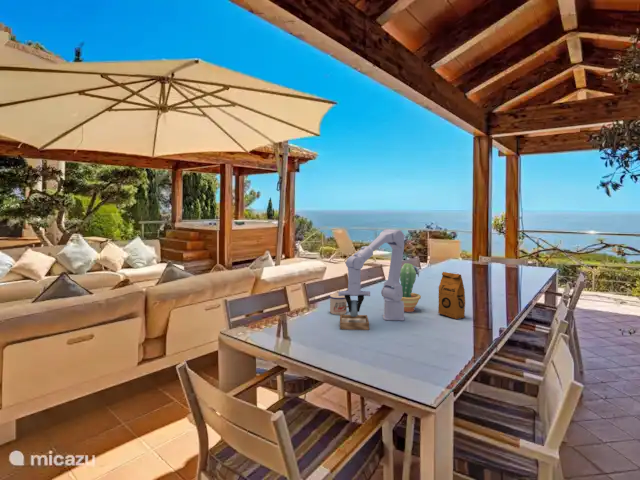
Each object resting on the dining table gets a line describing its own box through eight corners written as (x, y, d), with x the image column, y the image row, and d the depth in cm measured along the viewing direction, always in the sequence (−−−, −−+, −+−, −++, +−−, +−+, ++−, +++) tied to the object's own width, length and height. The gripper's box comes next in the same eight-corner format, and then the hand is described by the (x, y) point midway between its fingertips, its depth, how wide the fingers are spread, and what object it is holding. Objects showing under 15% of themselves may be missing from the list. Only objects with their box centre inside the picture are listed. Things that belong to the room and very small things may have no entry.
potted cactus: (420, 314, 190) (421, 266, 188) (390, 312, 194) (390, 265, 192) (420, 307, 205) (421, 262, 203) (392, 305, 209) (393, 261, 207)
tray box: (367, 321, 178) (367, 315, 177) (369, 329, 165) (369, 323, 164) (339, 320, 178) (340, 314, 178) (339, 329, 165) (339, 322, 165)
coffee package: (454, 320, 179) (456, 275, 178) (435, 314, 190) (436, 272, 188) (468, 317, 184) (469, 274, 183) (448, 311, 195) (449, 270, 193)
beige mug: (332, 315, 187) (333, 293, 186) (327, 311, 196) (327, 289, 195) (354, 313, 191) (355, 291, 190) (348, 309, 199) (348, 288, 198)
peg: (357, 314, 173) (357, 300, 173) (357, 316, 170) (357, 301, 169) (350, 314, 173) (350, 300, 173) (350, 316, 170) (350, 301, 169)
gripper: (368, 280, 174) (368, 309, 175) (338, 280, 174) (337, 308, 175) (371, 283, 167) (370, 313, 168) (339, 283, 167) (338, 313, 168)
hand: (354, 311), depth 171 cm, fingers closed on peg, 3 cm apart
